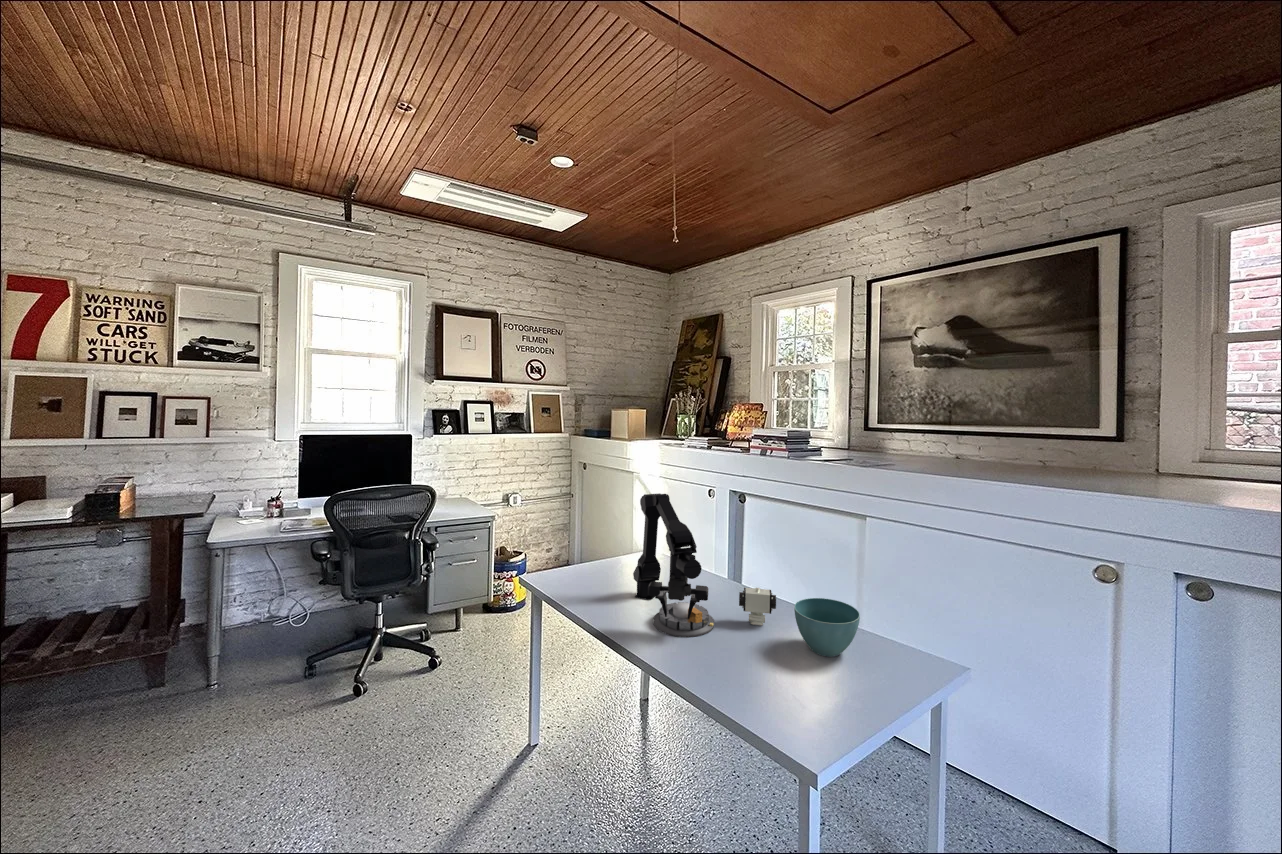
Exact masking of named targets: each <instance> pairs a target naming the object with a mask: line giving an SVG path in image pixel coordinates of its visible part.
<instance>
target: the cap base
mask: <svg viewBox="0 0 1282 854" xmlns="http://www.w3.org/2000/svg"><path fill="white" fill-rule="evenodd" d="M689 605H690V602H689V603H688V602H687V603H678V602H676V604H674V606H673V614H672V615H671V616H673V617H676V618H680V619H688V609H689ZM693 608H694V607H693ZM652 618H653V620H652V623H653V626H654V628H655V629H656V630H658V631H659V632H660V633H662V634H665V635H669V636H671V637H677V638H695V637H696V638H697V637H702V636H705V635H708V634H709V633H710V632H712V631H713V630H714V629H715V619H714V618H713V617H712V615H710V614H709V622H708V624H707V625H706V626H704V627H702V628H700V629H696V630H692V629H690V630H679V628H678V629H677V630H676V629H672V628H669V627H667V626H664V625H663V624H662V623H661V622H660V621H659V612H657V613H656V614H655V615H653V617H652Z"/></svg>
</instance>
